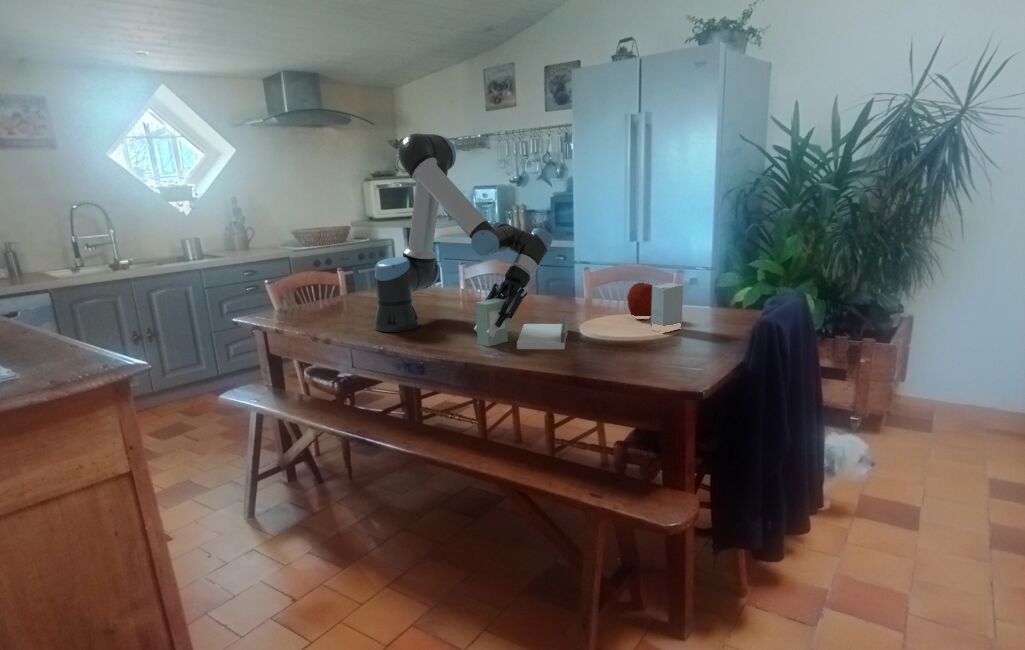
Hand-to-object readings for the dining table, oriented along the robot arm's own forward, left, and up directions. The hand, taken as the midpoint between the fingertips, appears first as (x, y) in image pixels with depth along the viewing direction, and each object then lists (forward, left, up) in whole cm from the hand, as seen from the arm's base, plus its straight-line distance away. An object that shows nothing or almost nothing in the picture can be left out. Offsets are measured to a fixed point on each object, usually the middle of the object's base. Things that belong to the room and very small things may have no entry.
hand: (483, 332), depth 179 cm
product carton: (0, +4, -4) cm, 5 cm away
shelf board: (+9, +17, -4) cm, 19 cm away
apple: (+18, +57, -4) cm, 60 cm away
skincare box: (+32, +50, -4) cm, 59 cm away
